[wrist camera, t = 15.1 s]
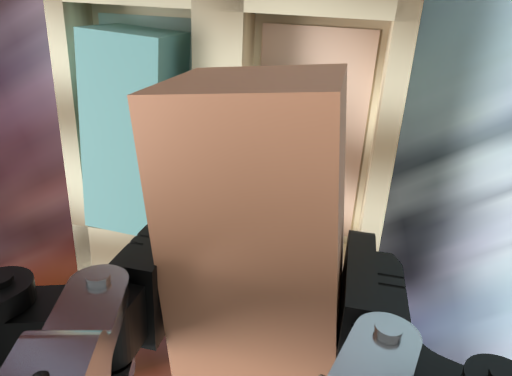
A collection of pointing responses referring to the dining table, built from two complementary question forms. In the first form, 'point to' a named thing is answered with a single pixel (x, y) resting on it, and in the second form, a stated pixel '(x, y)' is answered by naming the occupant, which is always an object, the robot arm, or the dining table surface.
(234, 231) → the block
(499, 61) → the dining table surface
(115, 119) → the batten teal
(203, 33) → the slot rack
